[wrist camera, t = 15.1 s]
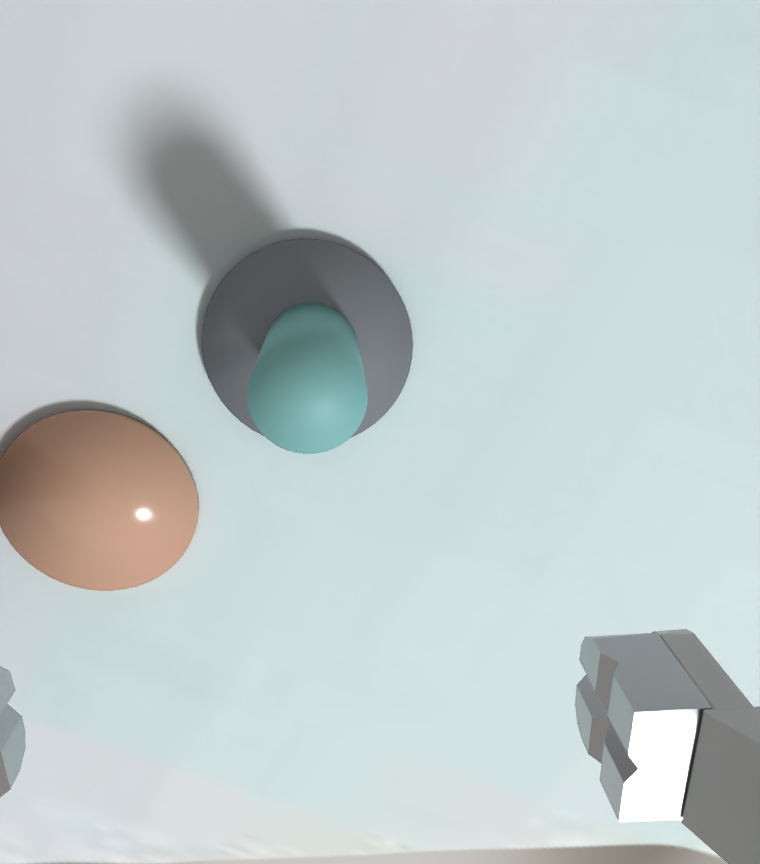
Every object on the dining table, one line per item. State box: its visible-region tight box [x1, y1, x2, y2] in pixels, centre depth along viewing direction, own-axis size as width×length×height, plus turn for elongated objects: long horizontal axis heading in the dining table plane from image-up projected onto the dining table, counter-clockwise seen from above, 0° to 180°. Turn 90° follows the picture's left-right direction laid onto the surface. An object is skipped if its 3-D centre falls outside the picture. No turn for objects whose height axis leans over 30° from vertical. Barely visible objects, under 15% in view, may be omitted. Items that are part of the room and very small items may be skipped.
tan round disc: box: [0, 410, 199, 591], centre depth 31 cm, size 9×9×1 cm
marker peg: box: [247, 302, 368, 454], centre depth 26 cm, size 4×4×7 cm
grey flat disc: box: [202, 239, 413, 438], centre depth 29 cm, size 9×9×1 cm
